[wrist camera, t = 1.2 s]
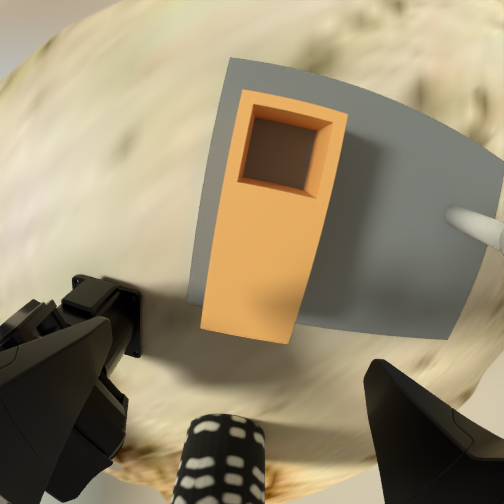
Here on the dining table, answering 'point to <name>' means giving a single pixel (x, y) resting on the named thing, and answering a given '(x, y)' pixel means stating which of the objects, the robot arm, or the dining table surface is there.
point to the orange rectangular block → (269, 225)
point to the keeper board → (367, 205)
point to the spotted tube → (221, 462)
